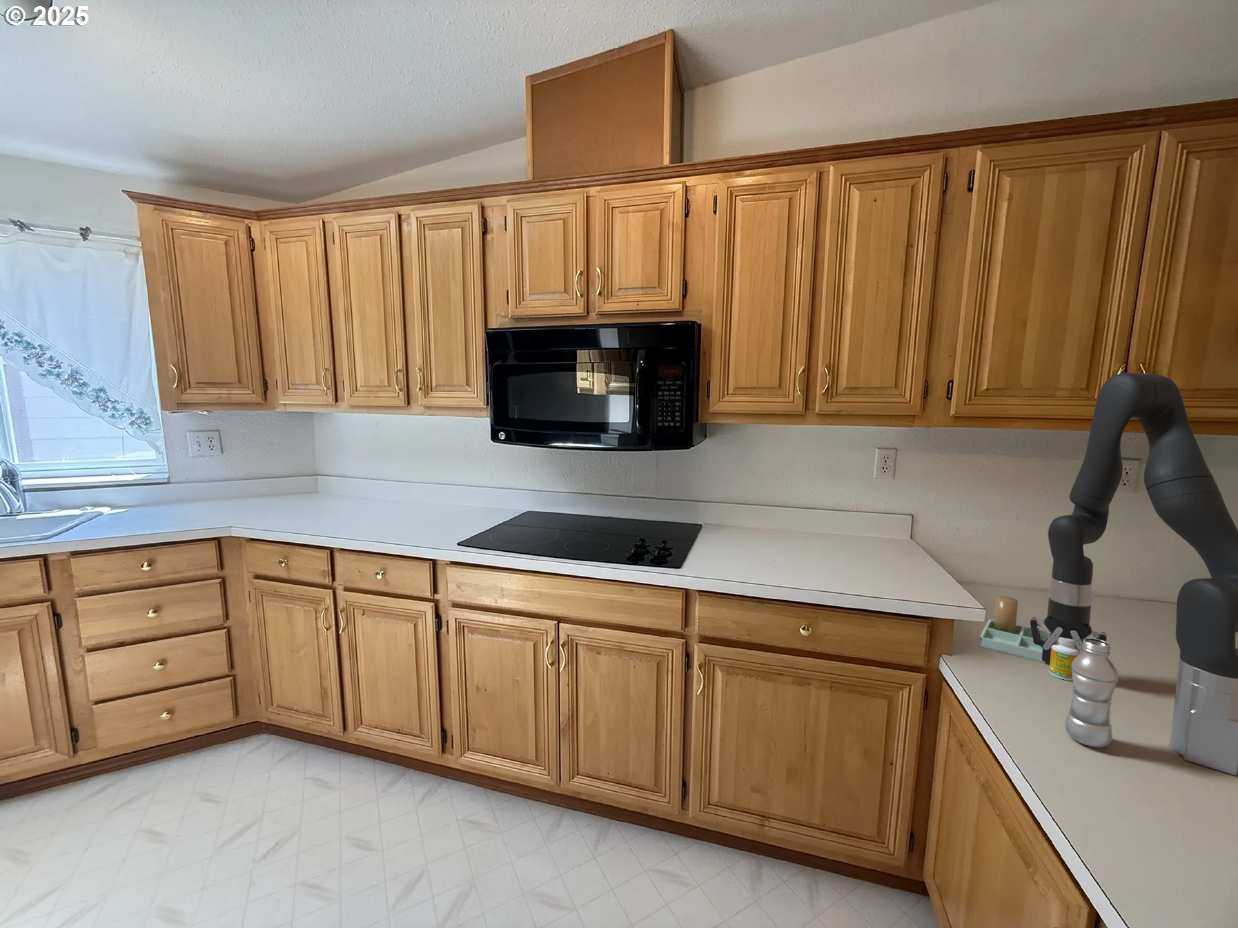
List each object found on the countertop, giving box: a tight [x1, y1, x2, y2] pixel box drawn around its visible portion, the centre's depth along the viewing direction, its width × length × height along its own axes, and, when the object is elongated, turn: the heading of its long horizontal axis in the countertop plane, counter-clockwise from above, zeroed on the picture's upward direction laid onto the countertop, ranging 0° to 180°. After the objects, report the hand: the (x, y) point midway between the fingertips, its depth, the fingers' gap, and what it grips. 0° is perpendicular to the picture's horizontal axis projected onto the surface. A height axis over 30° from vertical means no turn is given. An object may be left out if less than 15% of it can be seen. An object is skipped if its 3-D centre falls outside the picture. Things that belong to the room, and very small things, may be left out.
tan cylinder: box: [994, 595, 1019, 634], centre depth 143 cm, size 5×5×10 cm
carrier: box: [978, 618, 1051, 664], centre depth 139 cm, size 16×16×2 cm
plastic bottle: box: [1064, 637, 1120, 749], centre depth 98 cm, size 6×7×20 cm
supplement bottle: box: [1048, 637, 1080, 682], centre depth 123 cm, size 5×5×10 cm
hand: (1063, 667), depth 123 cm, fingers closed on supplement bottle, 5 cm apart
